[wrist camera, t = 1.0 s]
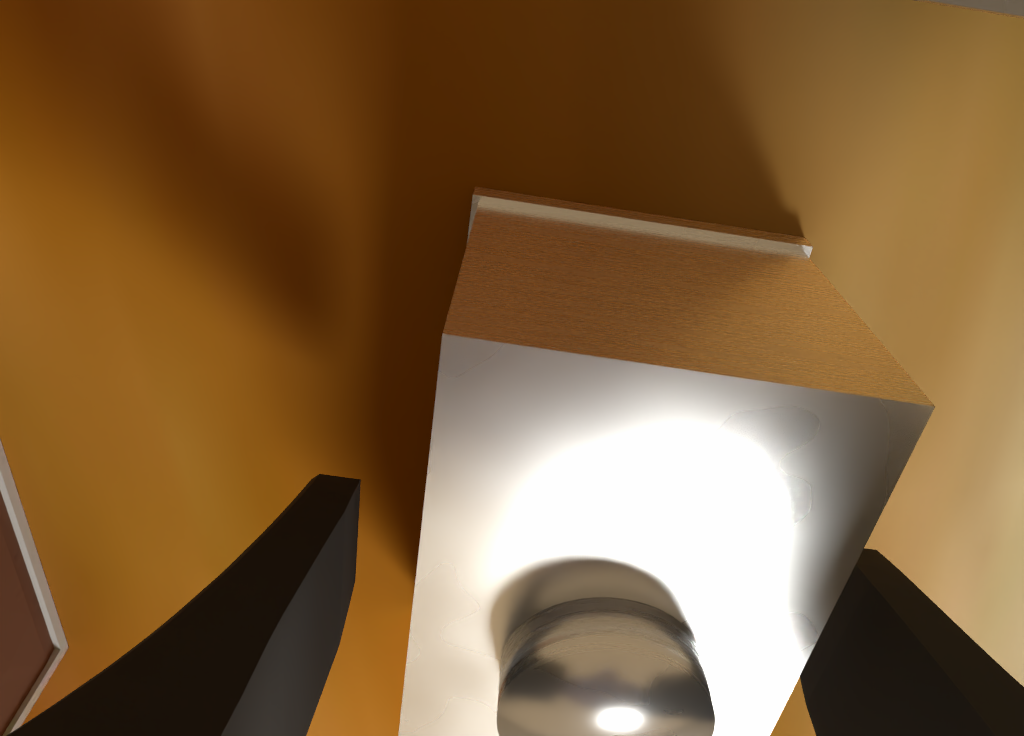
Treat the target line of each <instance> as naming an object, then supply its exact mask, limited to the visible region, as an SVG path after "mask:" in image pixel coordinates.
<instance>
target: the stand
mask: <svg viewBox="0 0 1024 736" xmlns="http://www.w3.org/2000/svg"><path fill="white" fill-rule="evenodd" d="M915 1H921V2H927V3H933V4H939V5H945V6H952V7H958V8H964V9H970V10H976V11H982V12H988V13H994V14H1000V15H1006V16H1012V17H1018V18H1024V0H915Z"/></svg>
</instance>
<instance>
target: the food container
mask: <svg viewBox="0 0 1024 736" xmlns="http://www.w3.org/2000/svg"><path fill="white" fill-rule="evenodd" d="M68 648H69V647H68V644H67V641H66V638H65V635H64V632H63V629H62V626H61V623H60V620H59V617H58V614H57V611H56V608H55V605H54V601H53V598H52V595H51V592H50V589H49V586H48V583H47V580H46V577H45V574H44V571H43V568H42V565H41V562H40V559H39V556H38V553H37V550H36V547H35V544H34V541H33V538H32V534H31V531H30V528H29V525H28V522H27V519H26V516H25V513H24V510H23V507H22V504H21V501H20V498H19V495H18V492H17V489H16V486H15V483H14V480H13V477H12V474H11V471H10V467H9V464H8V461H7V458H6V455H5V452H4V449H3V446H2V443H1V440H0V736H6V735H8V734H10V733H11V732H13V731H14V730H16V729H18V728H19V727H21V725H22V724H23V722H24V720H25V719H26V717H27V716H28V714H29V712H30V711H31V709H32V707H33V706H34V704H35V702H36V701H37V699H38V697H39V696H40V694H41V692H42V691H43V689H44V687H45V686H46V684H47V683H48V681H49V679H50V678H51V676H52V674H53V673H54V671H55V669H56V668H57V666H58V664H59V663H60V661H61V659H62V658H63V656H64V654H65V653H66V651H67V649H68Z"/></svg>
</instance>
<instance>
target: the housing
mask: <svg viewBox="0 0 1024 736" xmlns="http://www.w3.org/2000/svg"><path fill="white" fill-rule="evenodd" d="M812 248H813V246H812V245H811V244H810V243H809V242H808V241H807V240H806V238H805V237H799V236H793V235H786V234H780V233H773V232H767V231H760V230H754V229H747V228H741V227H734V226H728V225H721V224H715V223H708V222H702V221H695V220H689V219H682V218H676V217H669V216H663V215H656V214H650V213H643V212H637V211H630V210H624V209H617V208H611V207H605V206H598V205H592V204H585V203H579V202H572V201H566V200H559V199H553V198H546V197H540V196H533V195H527V194H520V193H514V192H507V191H501V190H494V189H488V188H481V187H475V189H474V193H473V198H472V206H471V214H470V223H469V231H468V240H467V246H466V250H465V254H464V257H463V261H462V265H461V268H460V272H459V276H458V279H457V283H456V286H455V290H454V294H453V297H452V301H451V305H450V308H449V312H448V315H447V319H446V323H445V326H444V330H443V334H442V342H441V352H440V361H439V370H438V379H437V388H436V397H435V406H434V415H433V425H432V434H431V443H430V452H429V461H428V470H427V479H426V489H425V498H424V507H423V516H422V525H421V534H420V543H419V552H418V562H417V571H416V580H415V589H414V598H413V607H412V616H411V625H410V635H409V644H408V653H407V662H406V671H405V680H404V689H403V699H402V708H401V717H400V726H399V735H398V736H770V734H771V732H772V730H773V728H774V726H775V724H776V722H777V720H778V718H779V716H780V714H781V712H782V710H783V708H784V706H785V704H786V702H787V700H788V698H789V696H790V694H791V692H792V690H793V688H794V686H795V684H796V682H797V680H798V678H799V676H800V674H801V672H802V670H803V668H804V666H805V664H806V662H807V660H808V658H809V656H810V654H811V652H812V650H813V648H814V646H815V644H816V642H817V640H818V638H819V636H820V634H821V632H822V630H823V628H824V626H825V624H826V622H827V620H828V618H829V616H830V614H831V612H832V610H833V608H834V606H835V604H836V602H837V600H838V598H839V596H840V595H841V593H842V591H843V589H844V587H845V585H846V583H847V581H848V579H849V577H850V575H851V573H852V571H853V569H854V567H855V565H856V563H857V561H858V559H859V557H860V555H861V553H862V551H863V549H864V547H865V545H866V543H867V541H868V539H869V537H870V535H871V533H872V531H873V529H874V527H875V525H876V523H877V521H878V519H879V517H880V515H881V513H882V511H883V509H884V507H885V505H886V503H887V501H888V499H889V497H890V495H891V493H892V491H893V489H894V487H895V485H896V483H897V481H898V479H899V477H900V475H901V473H902V471H903V469H904V467H905V465H906V463H907V461H908V459H909V457H910V455H911V453H912V451H913V449H914V447H915V445H916V443H917V441H918V439H919V437H920V435H921V433H922V431H923V429H924V428H925V426H926V424H927V422H928V420H929V418H930V416H931V414H932V412H933V410H934V408H935V406H934V405H933V403H932V402H931V401H930V400H929V399H928V398H927V396H926V395H925V394H924V393H923V392H922V390H921V389H920V388H919V387H918V386H917V385H916V383H915V382H914V381H913V380H912V379H911V377H910V376H909V375H908V374H907V373H906V372H905V370H904V369H903V368H902V367H901V366H900V364H899V363H898V362H897V361H896V360H895V359H894V357H893V356H892V355H891V354H890V353H889V351H888V350H887V349H886V348H885V347H884V346H883V344H882V343H881V342H880V341H879V340H878V338H877V337H876V336H875V335H874V334H873V333H872V331H871V330H870V329H869V328H868V327H867V325H866V324H865V323H864V322H863V321H862V320H861V318H860V317H859V316H858V315H857V314H856V313H855V311H854V310H853V309H852V308H851V307H850V305H849V304H848V303H847V302H846V301H845V300H844V298H843V297H842V296H841V295H840V294H839V292H838V291H837V290H836V289H835V288H834V287H833V285H832V284H831V283H830V282H829V281H828V279H827V278H826V277H825V276H824V275H823V274H822V272H821V271H820V270H819V269H818V268H817V266H816V265H815V264H814V263H813V262H812V261H811V259H810V258H809V256H810V254H811V251H812Z"/></svg>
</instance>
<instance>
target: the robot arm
mask: <svg viewBox="0 0 1024 736" xmlns="http://www.w3.org/2000/svg"><path fill="white" fill-rule="evenodd" d="M360 482H361V480H360V479H352V478H345V477H338V476H330V475H323V474H319V475H317V476H316V477H314V478H313V479H311V481H310V482H309V483H308V484H307V485H306V486H305V488H304V489H303V490H302V491H301V492H300V493H299V494H298V496H297V497H296V498H295V499H294V500H293V501H292V502H291V503H290V505H289V506H288V507H287V508H286V509H285V510H284V511H283V512H282V513H281V514H280V515H279V517H278V518H277V519H276V520H275V521H274V522H273V523H272V524H271V525H270V526H269V527H268V528H267V529H266V530H265V531H264V532H263V533H262V534H261V535H260V536H259V537H258V538H257V539H256V540H255V541H254V542H253V543H252V544H251V545H250V546H249V547H248V548H247V549H246V550H245V551H244V552H243V553H242V554H241V555H240V556H239V557H238V558H237V559H236V560H235V561H234V562H233V563H232V564H231V565H230V566H229V567H228V568H227V569H226V570H224V571H223V572H222V573H221V574H220V575H219V576H218V577H217V578H216V579H215V580H214V581H212V582H211V583H210V584H209V585H208V586H207V587H206V588H204V589H203V590H202V591H201V592H200V593H199V594H198V595H197V596H195V597H194V598H193V599H192V600H191V601H190V602H189V603H187V604H186V605H185V606H184V607H183V608H182V609H181V610H180V611H178V612H177V613H176V614H175V615H174V616H173V617H171V618H170V619H169V620H168V621H166V622H165V623H164V624H163V625H162V626H160V627H159V628H158V629H157V630H155V631H154V632H153V633H152V634H150V635H149V636H148V637H147V638H145V639H144V640H143V641H142V642H140V643H139V644H138V645H136V646H135V647H134V648H132V649H131V650H130V651H129V652H127V653H126V654H125V655H123V656H122V657H121V658H119V659H118V660H117V661H115V662H114V663H113V664H111V665H110V666H109V667H107V668H106V669H104V670H103V671H102V672H100V673H99V674H97V675H96V676H95V677H93V678H92V679H90V680H89V681H87V682H86V683H84V684H83V685H82V686H80V687H79V688H77V689H76V690H74V691H73V692H72V693H70V694H69V695H67V696H66V697H64V698H63V699H61V700H60V701H59V702H57V703H56V704H54V705H53V706H51V707H50V708H48V709H47V710H45V711H44V712H42V713H41V714H39V715H38V716H36V717H35V718H33V719H32V720H30V721H28V722H27V723H25V724H24V725H22V726H21V727H19V728H18V729H16V730H14V731H13V732H11V733H10V734H8V735H6V736H306V734H307V732H308V729H309V726H310V724H311V721H312V718H313V715H314V713H315V710H316V707H317V705H318V702H319V699H320V696H321V694H322V691H323V688H324V685H325V683H326V680H327V677H328V675H329V672H330V669H331V666H332V664H333V661H334V658H335V655H336V652H337V650H338V647H339V644H340V640H341V636H342V632H343V628H344V624H345V620H346V616H347V612H348V608H349V604H350V600H351V596H352V592H353V587H354V583H355V574H356V556H357V537H358V519H359V501H360ZM800 679H801V684H802V688H803V693H804V697H805V702H806V705H807V709H808V712H809V715H810V718H811V721H812V724H813V727H814V730H815V733H816V736H1024V687H1023V686H1022V685H1021V684H1020V683H1019V682H1017V681H1016V680H1015V679H1014V678H1013V677H1012V676H1011V675H1010V674H1009V673H1008V672H1007V671H1005V670H1004V669H1003V668H1002V667H1001V666H1000V665H999V664H998V663H997V662H996V661H995V660H994V659H992V658H991V657H990V656H989V655H988V654H987V653H986V652H985V651H984V650H983V649H982V648H981V647H980V646H979V645H978V644H976V643H975V642H974V641H973V640H972V639H971V638H970V637H969V636H968V635H967V634H966V633H965V632H964V631H963V630H962V629H961V628H960V627H959V626H958V625H957V624H955V623H954V622H953V621H952V620H951V619H950V618H949V617H948V616H947V615H946V614H945V613H944V612H943V611H942V610H941V609H940V608H939V607H938V606H937V605H936V604H935V603H934V602H933V601H931V600H930V599H929V598H928V597H927V596H926V595H925V594H924V593H923V592H922V591H921V590H920V589H919V588H918V587H917V586H916V585H915V584H914V583H913V582H912V581H910V580H909V579H908V578H907V577H906V576H905V575H904V574H903V573H902V572H901V571H900V570H899V569H898V568H896V567H895V566H894V565H893V564H892V563H891V562H890V561H889V560H887V559H886V558H885V557H884V556H883V555H882V554H880V553H879V552H878V551H877V550H872V549H863V551H862V553H861V555H860V557H859V559H858V561H857V563H856V565H855V567H854V569H853V571H852V573H851V575H850V577H849V579H848V581H847V583H846V585H845V587H844V589H843V591H842V593H841V595H840V596H839V598H838V600H837V602H836V604H835V606H834V608H833V610H832V612H831V614H830V616H829V618H828V620H827V622H826V624H825V626H824V628H823V630H822V632H821V634H820V636H819V638H818V640H817V642H816V644H815V646H814V648H813V650H812V652H811V654H810V656H809V658H808V660H807V662H806V664H805V666H804V668H803V670H802V672H801V674H800Z"/></svg>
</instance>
